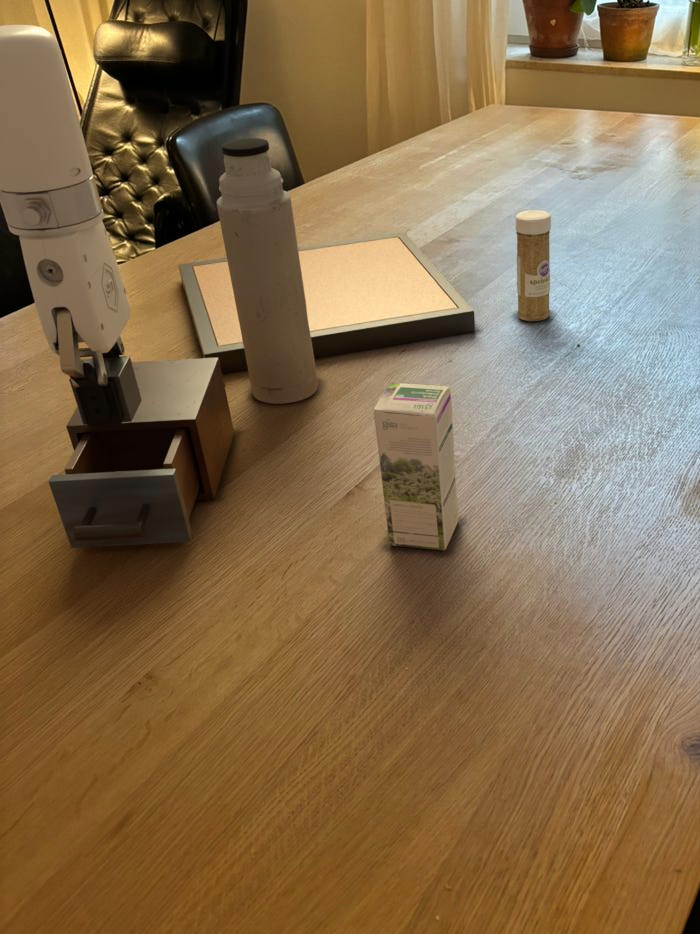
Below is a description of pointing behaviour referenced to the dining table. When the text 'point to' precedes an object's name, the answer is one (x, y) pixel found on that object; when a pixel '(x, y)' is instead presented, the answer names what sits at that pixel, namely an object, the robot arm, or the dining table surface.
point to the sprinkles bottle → (533, 264)
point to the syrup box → (417, 464)
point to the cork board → (338, 299)
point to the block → (119, 385)
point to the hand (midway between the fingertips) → (112, 409)
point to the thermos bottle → (265, 274)
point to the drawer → (129, 488)
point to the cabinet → (180, 411)
